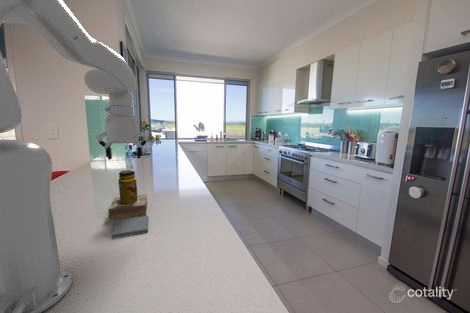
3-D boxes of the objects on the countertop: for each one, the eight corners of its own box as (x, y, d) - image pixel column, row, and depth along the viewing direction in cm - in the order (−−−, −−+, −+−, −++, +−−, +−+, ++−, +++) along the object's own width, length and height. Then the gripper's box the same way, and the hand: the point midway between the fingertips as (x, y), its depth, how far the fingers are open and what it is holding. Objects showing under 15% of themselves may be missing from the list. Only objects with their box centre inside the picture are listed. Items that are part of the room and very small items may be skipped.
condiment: (140, 202, 80) (138, 172, 78) (114, 207, 76) (111, 175, 73) (137, 197, 86) (134, 168, 84) (113, 201, 82) (110, 171, 79)
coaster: (147, 231, 67) (147, 228, 67) (112, 237, 64) (112, 234, 63) (148, 218, 76) (148, 215, 76) (117, 222, 73) (117, 220, 73)
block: (146, 215, 79) (145, 205, 78) (109, 220, 74) (108, 209, 74) (147, 203, 90) (146, 194, 89) (115, 207, 86) (114, 197, 85)
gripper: (90, 110, 69) (95, 161, 71) (147, 111, 75) (149, 159, 77) (96, 111, 76) (100, 158, 78) (148, 113, 82) (150, 156, 84)
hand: (124, 158), depth 78 cm, fingers open, 9 cm apart
